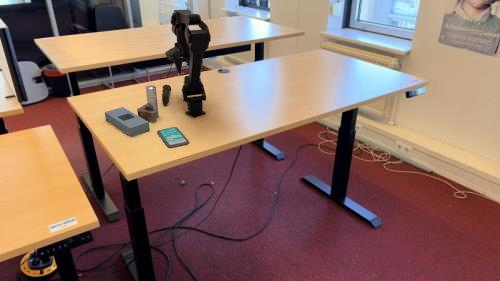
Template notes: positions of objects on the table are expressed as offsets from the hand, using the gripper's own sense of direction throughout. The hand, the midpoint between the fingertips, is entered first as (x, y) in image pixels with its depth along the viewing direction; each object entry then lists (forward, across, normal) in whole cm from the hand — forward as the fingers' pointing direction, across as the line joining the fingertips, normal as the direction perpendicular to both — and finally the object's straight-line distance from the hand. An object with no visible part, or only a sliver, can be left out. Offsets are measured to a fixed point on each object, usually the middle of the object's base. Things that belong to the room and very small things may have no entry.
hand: (185, 75), depth 169 cm
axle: (+12, +5, -21) cm, 25 cm away
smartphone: (+13, +26, -26) cm, 39 cm away
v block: (+12, +4, -24) cm, 27 cm away
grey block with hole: (+12, +5, -33) cm, 35 cm away
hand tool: (+12, -8, -5) cm, 16 cm away
